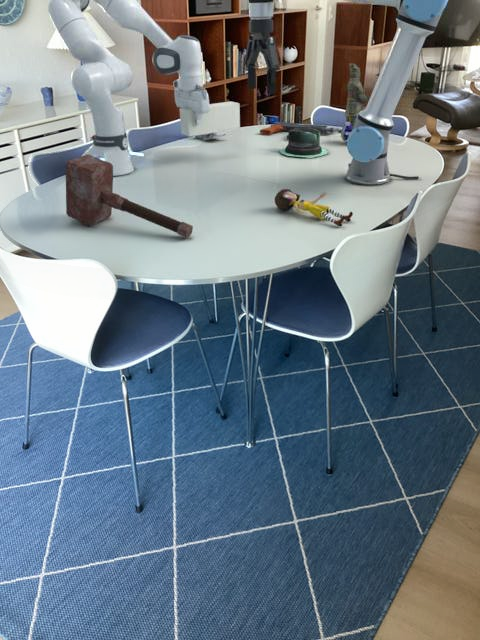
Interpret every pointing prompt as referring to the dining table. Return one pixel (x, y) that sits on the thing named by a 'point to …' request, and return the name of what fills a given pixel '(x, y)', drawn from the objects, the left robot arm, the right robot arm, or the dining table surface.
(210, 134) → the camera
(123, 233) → the dining table surface
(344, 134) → the toy
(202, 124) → the box
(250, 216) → the dining table surface
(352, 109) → the statue
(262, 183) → the dining table surface
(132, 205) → the sledgehammer
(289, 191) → the figurine
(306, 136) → the green hat
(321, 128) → the submachine gun
